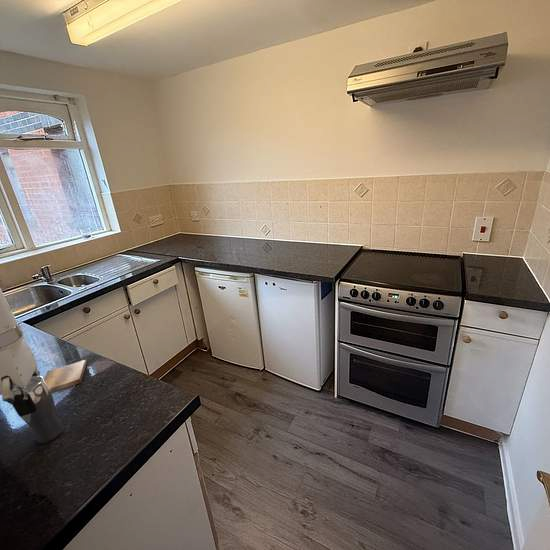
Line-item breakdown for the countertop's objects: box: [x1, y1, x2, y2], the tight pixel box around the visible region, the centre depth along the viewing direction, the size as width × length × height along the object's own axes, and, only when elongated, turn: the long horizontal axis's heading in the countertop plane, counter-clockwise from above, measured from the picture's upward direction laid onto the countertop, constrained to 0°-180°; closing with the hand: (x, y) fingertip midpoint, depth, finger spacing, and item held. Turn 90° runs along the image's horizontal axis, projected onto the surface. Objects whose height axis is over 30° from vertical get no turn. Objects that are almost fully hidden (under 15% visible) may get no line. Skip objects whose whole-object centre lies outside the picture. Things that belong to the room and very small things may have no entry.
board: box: [43, 359, 87, 394], centre depth 94 cm, size 11×11×2 cm
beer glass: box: [12, 375, 66, 445], centre depth 71 cm, size 7×7×15 cm
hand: (34, 401), depth 70 cm, fingers closed on beer glass, 7 cm apart
